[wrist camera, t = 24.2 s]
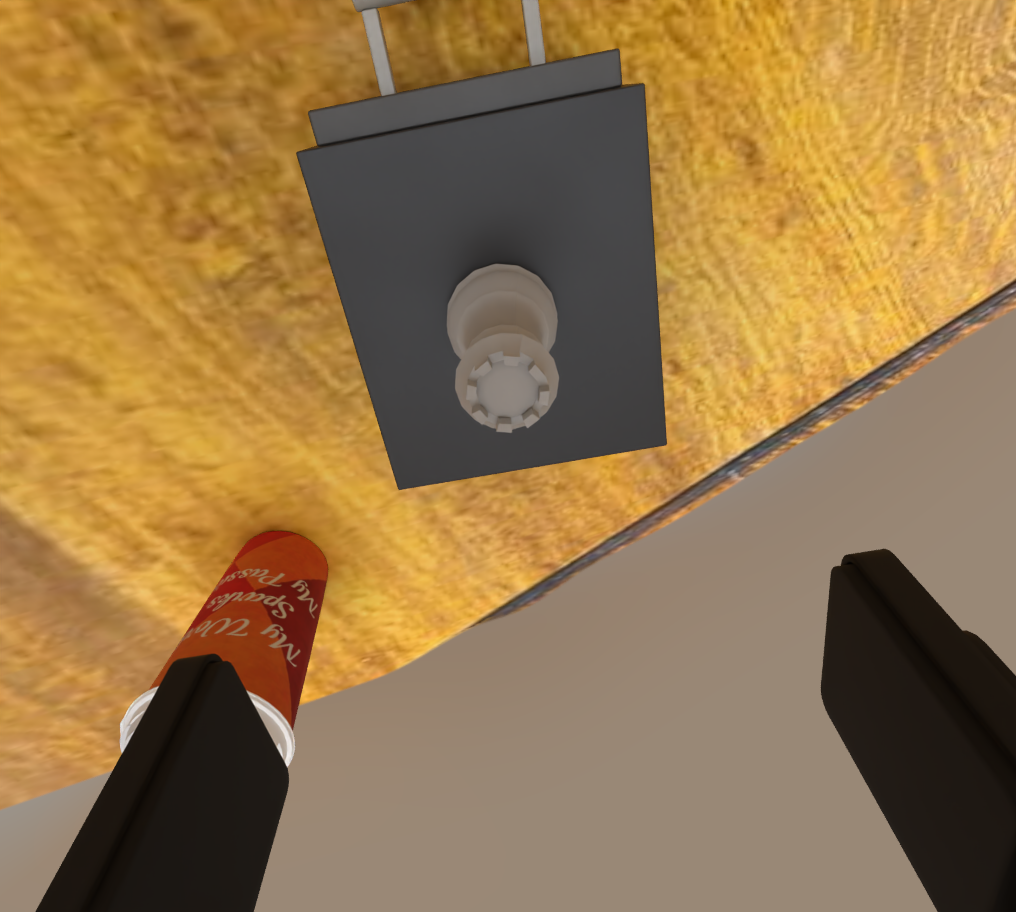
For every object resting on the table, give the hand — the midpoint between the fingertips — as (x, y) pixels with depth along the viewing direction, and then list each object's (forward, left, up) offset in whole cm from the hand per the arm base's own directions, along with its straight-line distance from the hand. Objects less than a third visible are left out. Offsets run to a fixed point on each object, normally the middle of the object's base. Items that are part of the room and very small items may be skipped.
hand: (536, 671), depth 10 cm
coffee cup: (-7, -24, -28) cm, 38 cm away
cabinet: (0, 0, -28) cm, 28 cm away
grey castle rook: (0, 0, -19) cm, 19 cm away
